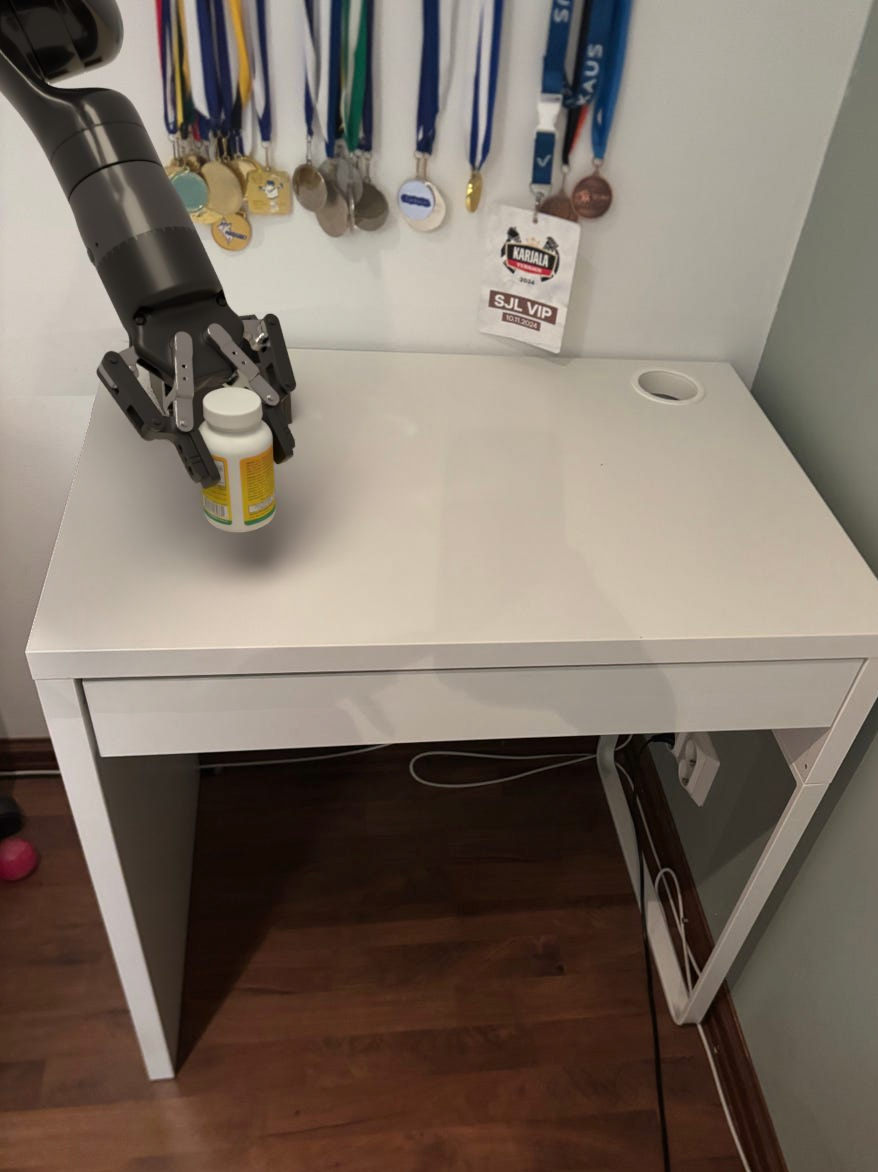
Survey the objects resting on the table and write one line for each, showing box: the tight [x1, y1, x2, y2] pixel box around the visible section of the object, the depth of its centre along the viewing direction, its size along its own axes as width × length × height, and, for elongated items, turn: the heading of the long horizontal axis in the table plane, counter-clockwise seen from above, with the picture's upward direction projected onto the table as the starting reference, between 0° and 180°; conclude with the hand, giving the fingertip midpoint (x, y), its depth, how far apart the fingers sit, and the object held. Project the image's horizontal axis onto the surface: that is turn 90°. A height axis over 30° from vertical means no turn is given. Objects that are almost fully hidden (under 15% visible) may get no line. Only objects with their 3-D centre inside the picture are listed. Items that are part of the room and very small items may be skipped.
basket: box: [148, 313, 293, 431], centre depth 95 cm, size 11×11×6 cm
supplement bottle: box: [198, 387, 277, 533], centre depth 70 cm, size 5×5×10 cm
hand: (250, 471), depth 69 cm, fingers closed on supplement bottle, 5 cm apart
